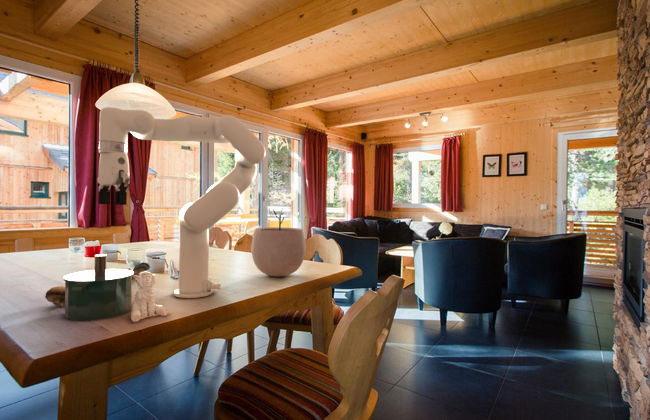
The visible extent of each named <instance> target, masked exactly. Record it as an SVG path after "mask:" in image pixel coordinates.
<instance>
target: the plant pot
mask: <svg viewBox="0 0 650 420" xmlns="http://www.w3.org/2000/svg"><path fill="white" fill-rule="evenodd" d="M283 209H284V208H281V211H280V214H279V215H278V216H277V212H276V211H275V210H274V209H272V211H273V213H274V215H275V219H276V220H277V219H278V226H277V227H273V226H272V227H271V226H270V227H269V226H268V227H256V228H254V232H253V235H252V241H251V256H252V260H253V263H254V265H255V267H256V268H257V269H258V270H259V272H261V273H263V274H265V275H266V276H270V277H280V278H281V277H287V276H290V275H291V274H294V273H295V272H297V271H298V270H299V268H300V267H301V266H302V264H303V263H304V260H305V256H306V252H307V244H306V237H305V233H304V229H303V228H299V227H298V228H297V227H282V224H283V221H284V220H285V216H283V215H284V212H283ZM282 216H283V217H282Z"/></svg>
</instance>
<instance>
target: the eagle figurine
mask: <svg viewBox="0 0 650 420" xmlns="http://www.w3.org/2000/svg"><path fill="white" fill-rule="evenodd" d="M150 268H151V266H150V264H149V263H148V262H141V263H138V264H135V265H134V267H133V269H132V268H130V267H127V268H126V269H125V270H130V271H133V272H134V275H137V276H139V275H140V274H141V273H143V272H148V271H149V270H150ZM134 280H135V279H134V277H133V276H132V281H134Z"/></svg>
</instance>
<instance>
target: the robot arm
mask: <svg viewBox="0 0 650 420" xmlns="http://www.w3.org/2000/svg"><path fill="white" fill-rule="evenodd" d="M129 133H130V134H132V136H133V137H135V138H137V139H139V140H145V141H159V142H160V141H161V142H199V143H212V144H230V145H231V146H232V147H233V149H235V152H234V161H235V164H234V167H233V168H232V169H231V171H229V172H228V173H227V174H226V175H224V176H223V177H222V178H220V179H219V180H218V181H216V182H215V183H213V184H212V185H211V186H209V187H208V188H207V191H206V192H205V193H204V194H203V195H202V196H200V197H199V198H198V199H196V200H195V201H191V202H188V203H186V204H184V206H183V207H182V208H181V209H180V211H179V215H178V231H179V248H178V249H179V250H178V251H179V255H178V269H179V270H178V288H177V289H175V290H174V291H173V296H174V297H176V298H180V299H197V298H204V297H207V296H210V295H212V294H213V293H214V290H221V287H222V286H221V285H222V284H221V283H219V282H212V279H211V278H209V266H210V265H209V261H210V260H209V257H210V231H209V230H210V228H212V227H213V226H214V225H215V224H216V223H218V222H219V221H220V220H221V219H223V218H224V217H225V216H226V215H228V214H229V213H230V212H231V211H232V210H234V208H235V207H236V206H237V205H238V203H239V201H240V195H242V194H243V193H244V192H245V191H246V190H247V189H248V188H249V187H250V186H252V184H253V183H254V181H255V179H256V176H257V171H258V167H257V166H258V164H260V163H262V162H263V161H264V160H265V157H266V155H267V152H266V147H265V145H264V143H263V142H262V140H260V139H259V138H258V137H257V136H256V135H255V134H254V132H252V131H251V130H250V129H249V128H248V127H247V126H246V125H245V124H244V123H243V122H242V121H241V120H240V119H239V118H237V117H236V116H234V115H232V114H225V115H224V114H223V115H222V116H221V117H219V118H216V117H209V116H208V117H207V116H197V115H182V116H180V117H175V118H168V119H167V118H166V119H165V118H164V119H163V118H162V119H161V118H155V117H154V116H153V114H152V113H150V112H149V111H147V110H142V109H121V108H118V107H110V106H108V107H103V108H101V109H100V111H99V133H98V135H99V136H98V139H99V141H98V143H99V144H98V153H99V154H100V155H99V162H98V173H97V174H98V177H97V178H96V181H97V187H98V188H97V191H98V201H97V202H98V205H110V204H111V191H110V190H111V187H112V186H113V187H114V188H115V191H114V205H115V206H116V205H117V206H126V205H127V204H128V203H127V197H128V196H127V195H128V191H129V189H128V188H129V186H130V179H131V176H130V161H129V156H128V145H129V143H128V141H129V140H128V139H129Z"/></svg>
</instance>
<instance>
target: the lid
mask: <svg viewBox="0 0 650 420" xmlns="http://www.w3.org/2000/svg"><path fill="white" fill-rule="evenodd" d="M133 275H134V272H133V271H130V270H126V269H122V268H118V269H117V268H109V269H108V268H107V254H95V255H94V269H93V270H84V271H78V272H74V273H73V272H72V273H69V274H66V275H64V276H63V281H64V282H65V281H67V282H74V283H93V282H106V281H114V280H120V279H124V278H128V277H131V276H133Z"/></svg>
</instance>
